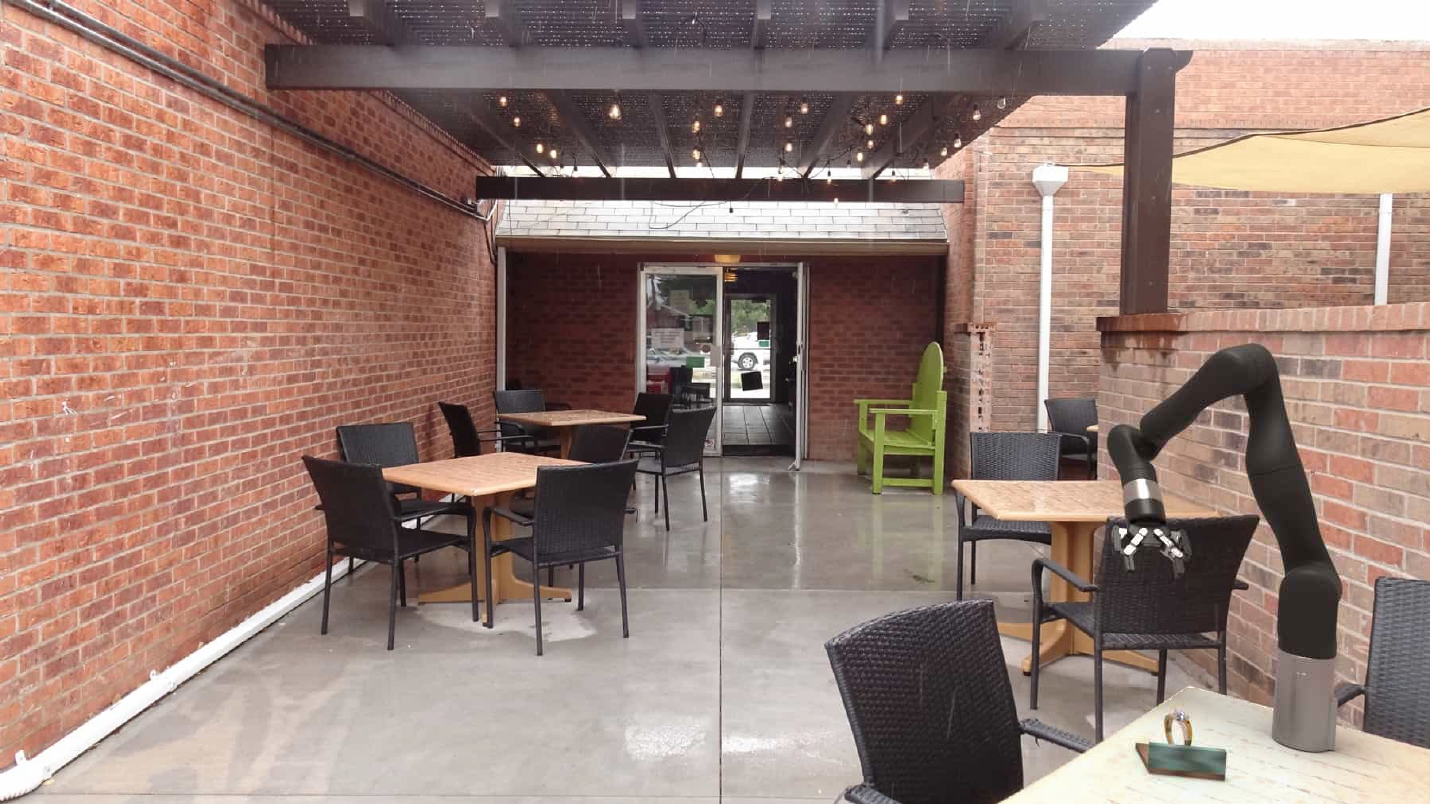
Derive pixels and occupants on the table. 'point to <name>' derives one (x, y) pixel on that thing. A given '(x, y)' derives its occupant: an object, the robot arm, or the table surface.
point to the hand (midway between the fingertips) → (1155, 575)
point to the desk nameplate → (1183, 760)
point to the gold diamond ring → (1182, 720)
